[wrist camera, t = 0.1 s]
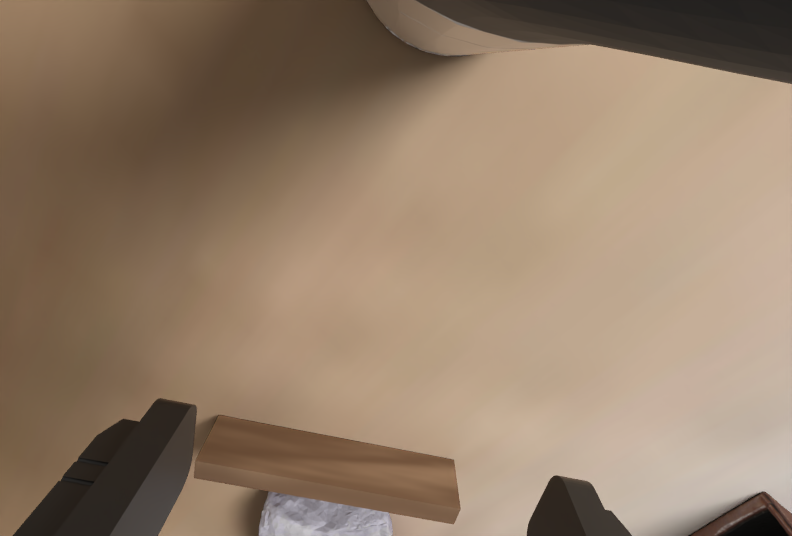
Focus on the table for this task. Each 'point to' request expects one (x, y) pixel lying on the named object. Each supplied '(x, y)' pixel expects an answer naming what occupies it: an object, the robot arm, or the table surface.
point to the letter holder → (752, 520)
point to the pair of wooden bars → (329, 469)
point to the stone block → (319, 518)
